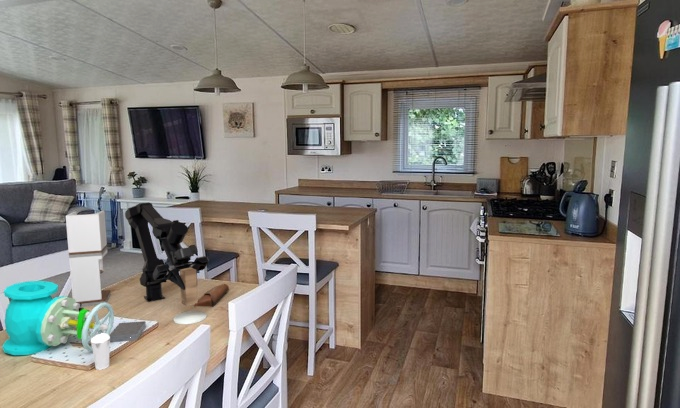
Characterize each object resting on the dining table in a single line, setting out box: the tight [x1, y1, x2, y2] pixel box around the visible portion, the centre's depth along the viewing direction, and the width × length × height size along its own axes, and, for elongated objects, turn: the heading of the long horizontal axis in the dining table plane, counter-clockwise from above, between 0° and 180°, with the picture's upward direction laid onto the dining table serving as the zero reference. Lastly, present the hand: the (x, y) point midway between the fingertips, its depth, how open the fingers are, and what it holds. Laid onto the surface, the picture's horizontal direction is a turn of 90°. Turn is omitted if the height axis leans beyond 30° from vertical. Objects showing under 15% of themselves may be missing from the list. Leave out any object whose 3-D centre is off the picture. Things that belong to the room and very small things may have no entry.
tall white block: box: [65, 210, 112, 308], centre depth 160 cm, size 11×11×35 cm
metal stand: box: [109, 320, 147, 343], centre depth 132 cm, size 10×8×2 cm
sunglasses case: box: [193, 283, 230, 308], centre depth 165 cm, size 18×7×7 cm
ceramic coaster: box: [173, 310, 208, 326], centre depth 145 cm, size 11×11×1 cm
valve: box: [2, 280, 115, 356], centre depth 122 cm, size 14×18×30 cm
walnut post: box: [179, 267, 199, 307], centre depth 144 cm, size 4×4×12 cm
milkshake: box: [88, 331, 111, 371], centre depth 111 cm, size 4×5×10 cm
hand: (190, 287), depth 143 cm, fingers closed on walnut post, 4 cm apart
